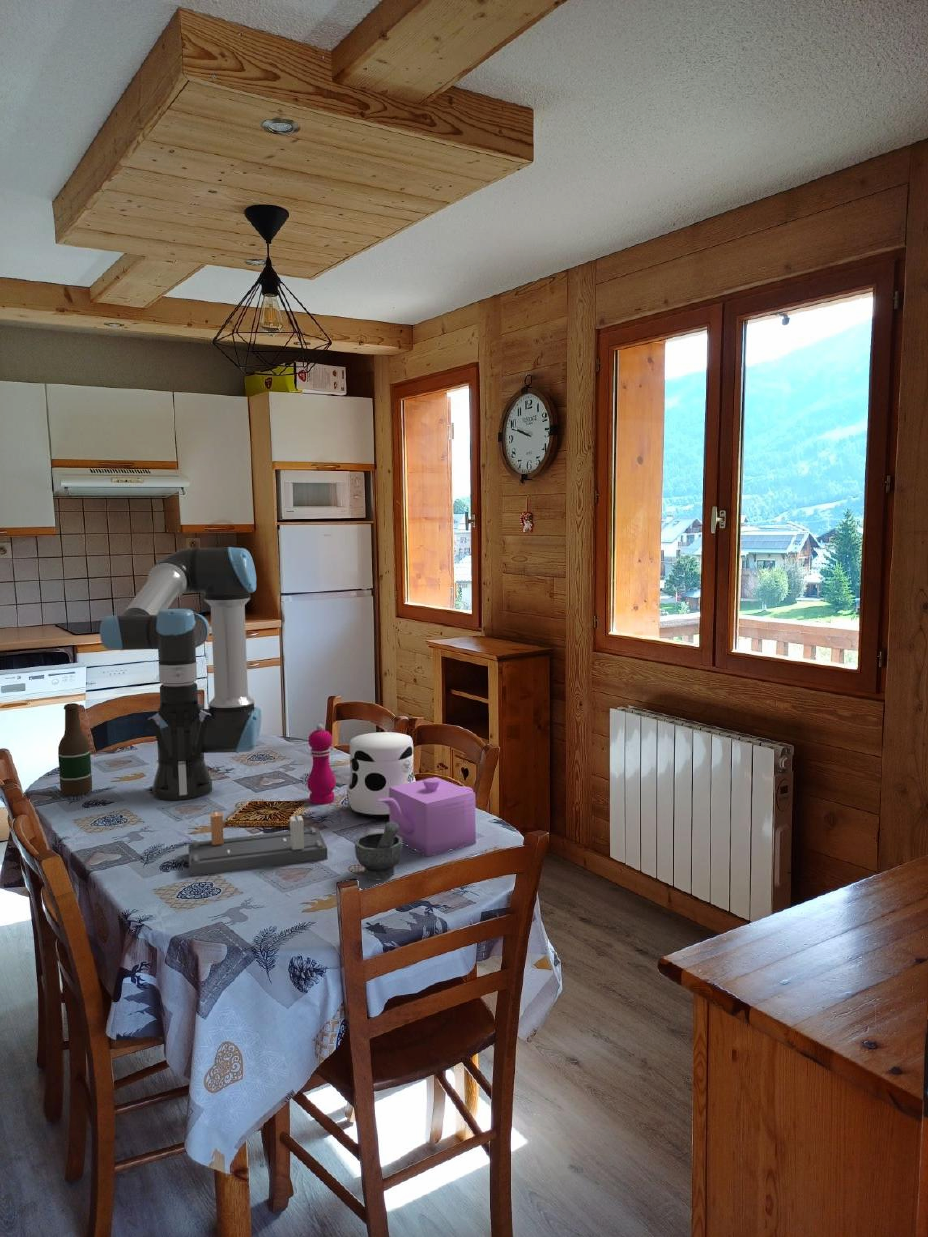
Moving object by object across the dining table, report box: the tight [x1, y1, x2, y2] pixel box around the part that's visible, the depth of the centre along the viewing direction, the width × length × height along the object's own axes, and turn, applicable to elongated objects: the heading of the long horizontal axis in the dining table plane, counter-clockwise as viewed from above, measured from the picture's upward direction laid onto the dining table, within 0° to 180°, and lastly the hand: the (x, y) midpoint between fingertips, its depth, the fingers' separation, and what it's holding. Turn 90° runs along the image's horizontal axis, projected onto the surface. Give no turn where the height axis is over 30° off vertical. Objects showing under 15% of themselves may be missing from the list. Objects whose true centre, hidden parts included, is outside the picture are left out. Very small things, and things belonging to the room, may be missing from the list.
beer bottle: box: [57, 702, 93, 797], centre depth 236 cm, size 8×8×24 cm
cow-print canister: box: [346, 731, 417, 818], centre depth 218 cm, size 17×17×18 cm
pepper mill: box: [306, 723, 337, 805], centre depth 227 cm, size 7×7×20 cm
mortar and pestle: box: [354, 821, 403, 880], centre depth 179 cm, size 11×9×12 cm
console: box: [187, 826, 328, 877], centre depth 190 cm, size 13×28×3 cm, turn 108°
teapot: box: [379, 776, 477, 858], centre depth 198 cm, size 15×25×14 cm, turn 126°
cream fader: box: [289, 815, 305, 850], centre depth 188 cm, size 3×2×6 cm
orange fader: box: [209, 811, 225, 845], centre depth 191 cm, size 3×2×6 cm
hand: (183, 793), depth 188 cm, fingers closed
